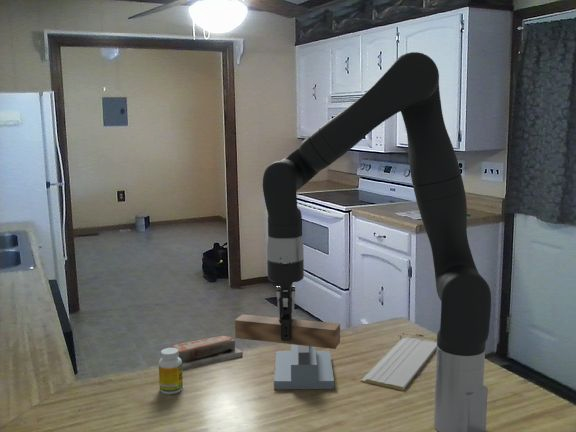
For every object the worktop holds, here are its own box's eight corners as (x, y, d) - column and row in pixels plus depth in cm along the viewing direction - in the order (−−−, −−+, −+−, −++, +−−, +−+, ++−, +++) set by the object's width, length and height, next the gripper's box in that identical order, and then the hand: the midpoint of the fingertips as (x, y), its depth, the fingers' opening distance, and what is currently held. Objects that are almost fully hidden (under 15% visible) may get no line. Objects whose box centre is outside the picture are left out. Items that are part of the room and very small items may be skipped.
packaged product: (178, 354, 147) (165, 342, 156) (179, 372, 148) (166, 359, 156) (243, 340, 156) (227, 329, 165) (243, 357, 157) (227, 345, 165)
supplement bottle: (160, 385, 140) (158, 347, 138) (182, 383, 141) (181, 345, 139) (159, 395, 135) (157, 356, 133) (183, 393, 136) (181, 354, 134)
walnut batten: (340, 341, 123) (340, 323, 122) (335, 349, 119) (335, 330, 118) (242, 331, 130) (242, 314, 129) (235, 338, 126) (234, 320, 125)
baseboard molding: (355, 382, 142) (403, 393, 136) (355, 371, 142) (403, 381, 136) (397, 340, 169) (439, 347, 163) (397, 330, 168) (439, 337, 163)
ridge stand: (329, 358, 155) (329, 325, 154) (334, 389, 137) (334, 352, 136) (276, 358, 155) (276, 325, 154) (273, 389, 137) (273, 352, 136)
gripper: (268, 249, 129) (270, 324, 131) (265, 265, 115) (267, 348, 117) (303, 249, 129) (303, 323, 131) (304, 265, 114) (304, 348, 117)
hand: (286, 335), depth 124 cm, fingers closed on walnut batten, 5 cm apart
